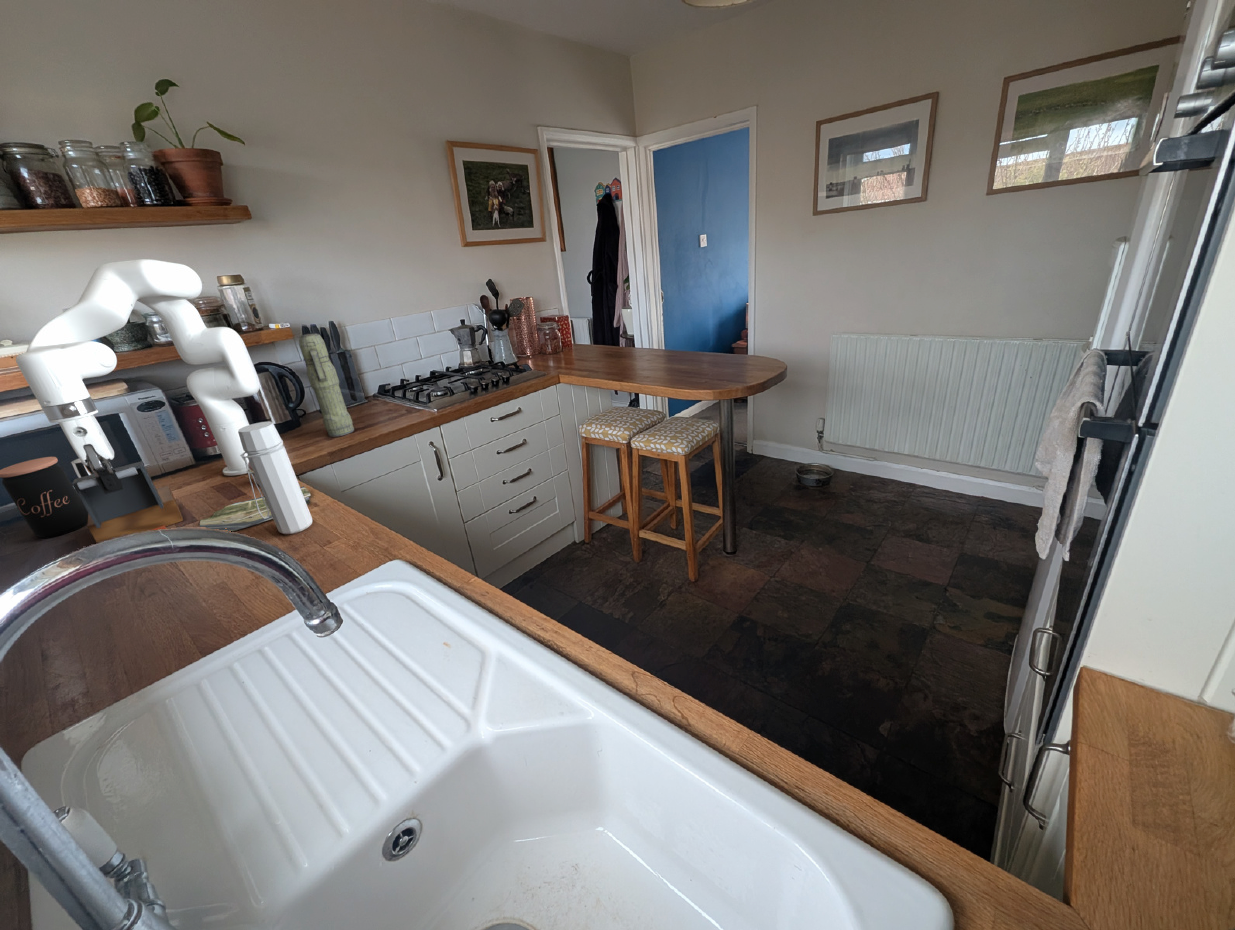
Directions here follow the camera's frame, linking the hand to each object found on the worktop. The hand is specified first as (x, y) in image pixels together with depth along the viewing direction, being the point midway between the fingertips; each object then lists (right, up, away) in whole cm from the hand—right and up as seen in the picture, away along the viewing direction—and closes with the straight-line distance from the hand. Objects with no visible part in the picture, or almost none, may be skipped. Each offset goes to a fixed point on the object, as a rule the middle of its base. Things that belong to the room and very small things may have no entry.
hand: (113, 489), depth 115 cm
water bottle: (+36, -10, +6) cm, 37 cm away
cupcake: (+11, +1, +36) cm, 38 cm away
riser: (-9, -10, +17) cm, 22 cm away
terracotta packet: (+1, -10, +9) cm, 14 cm away
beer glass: (-28, -7, +30) cm, 42 cm away
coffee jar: (-32, -11, +20) cm, 40 cm away
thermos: (+11, +17, +74) cm, 77 cm away
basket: (-6, -1, +8) cm, 10 cm away
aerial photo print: (+20, -7, +17) cm, 27 cm away
